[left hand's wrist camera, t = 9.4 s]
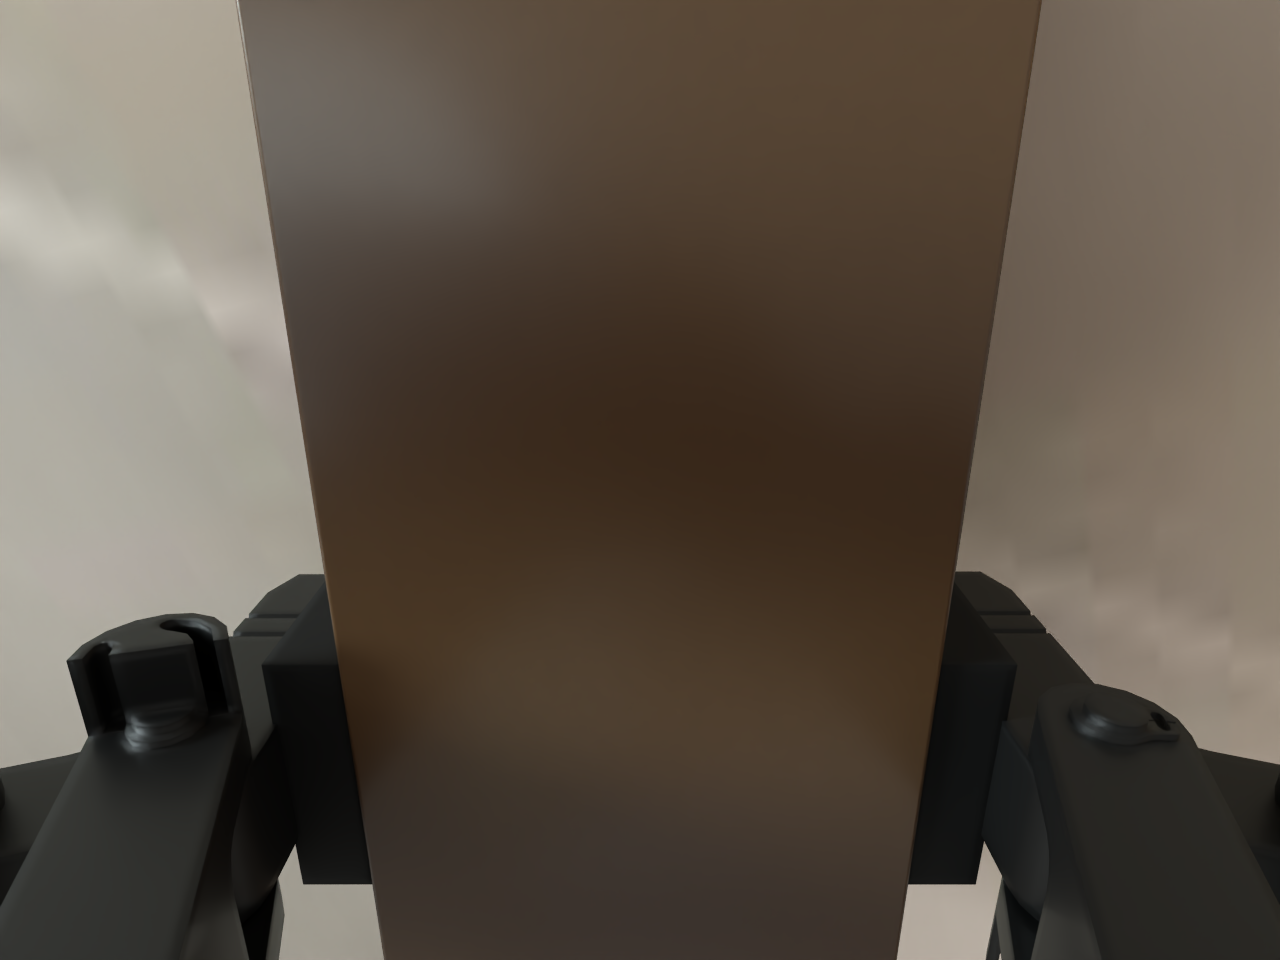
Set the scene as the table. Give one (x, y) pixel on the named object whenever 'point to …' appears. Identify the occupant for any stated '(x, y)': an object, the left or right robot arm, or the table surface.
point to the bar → (639, 444)
